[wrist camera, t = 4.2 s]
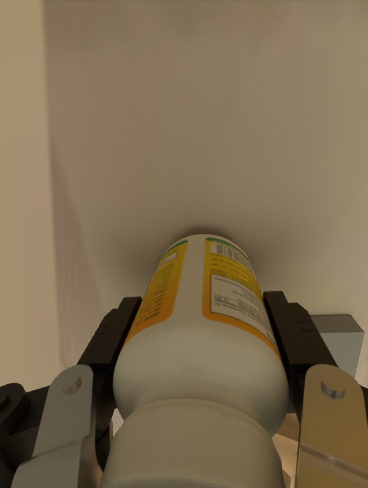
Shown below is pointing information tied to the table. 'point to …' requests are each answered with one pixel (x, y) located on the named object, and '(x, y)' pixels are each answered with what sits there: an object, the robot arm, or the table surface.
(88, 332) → the table surface
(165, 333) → the supplement bottle
